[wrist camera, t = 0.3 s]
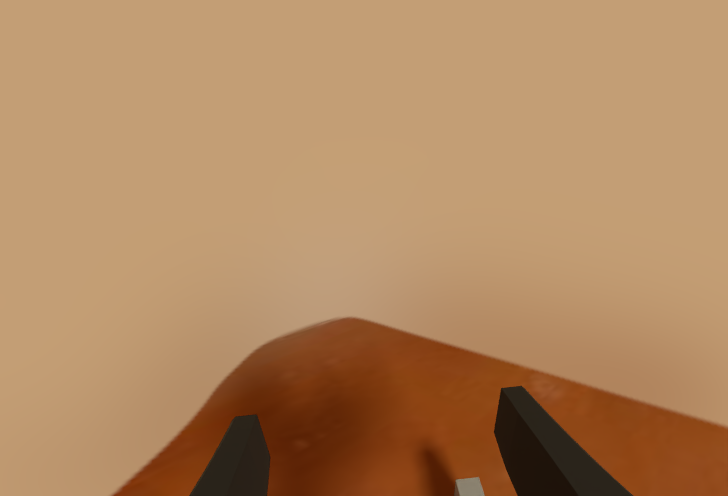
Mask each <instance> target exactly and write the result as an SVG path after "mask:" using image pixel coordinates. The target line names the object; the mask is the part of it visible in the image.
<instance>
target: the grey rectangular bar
mask: <svg viewBox="0 0 728 496" xmlns="http://www.w3.org/2000/svg"><path fill="white" fill-rule="evenodd" d="M454 496H484V493H483V489H482V486H481V483H480V480H479V477H477V478H467V479H458V480H456V482H455V492H454Z"/></svg>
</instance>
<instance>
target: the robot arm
mask: <svg viewBox="0 0 728 496" xmlns="http://www.w3.org/2000/svg"><path fill="white" fill-rule="evenodd" d="M494 434H495V437H496V440H497V443H498V446H499V449H500V452H501V455H502V458H503V461H504V464H505V467H506V470H507V472H508V475H509V477H510V479H511V481H512V484H513V486H514V488H515V490H516V493H517V495H518V496H633V495H632V494H631V493H630V492H629V491H627V490H626V489H625V488H624V487H623V486H622V485H621V484H620V483H619V482H618V481H616V480H615V479H614V478H613V477H612V476H611V475H610V474H609V473H608V472H607V471H606V470H604V469H603V468H602V467H601V466H600V465H599V464H598V463H597V462H596V461H595V460H594V459H593V458H592V457H591V456H590V455H589V454H588V453H587V452H586V451H585V450H584V449H583V448H582V447H581V446H580V445H579V444H578V443H576V442H575V441H574V440H573V439H572V438H571V437H570V436H569V435H568V434H567V433H566V432H565V431H564V429H563V428H562V427H561V426H560V425H559V424H558V423H557V422H556V421H555V420H554V419H553V418H552V417H551V416H550V415H549V414H548V413H547V412H546V411H545V410H544V409H543V408H542V407H541V405H540V404H539V403H538V402H537V401H536V400H535V399H534V398H533V397H532V396H531V395H530V394H529V393H528V392H527V391H526V389H525V388H523V387H522V386H517V387H508V388H501V393H500V399H499V405H498V411H497V417H496V423H495V429H494ZM269 467H270V455H269V451H268V448H267V445H266V442H265V439H264V436H263V432H262V429H261V426H260V423H259V420H258V417H257V415H247V416H238V417H235V418H234V419H233V420H232V422H231V424H230V426H229V428H228V430H227V432H226V433H225V435H224V437H223V439H222V441H221V443H220V444H219V446H218V448H217V450H216V452H215V453H214V455H213V457H212V459H211V460H210V462H209V464H208V466H207V467H206V469H205V471H204V472H203V474H202V476H201V477H200V479H199V481H198V482H197V484H196V486H195V487H194V489H193V491H192V492H191V494H190V495H189V496H267V489H268V479H269Z"/></svg>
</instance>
